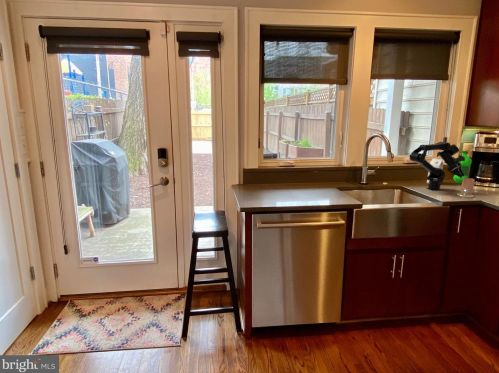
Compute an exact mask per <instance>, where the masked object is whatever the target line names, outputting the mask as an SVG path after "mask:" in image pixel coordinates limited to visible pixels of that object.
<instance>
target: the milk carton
mask: <svg viewBox="0 0 499 373" xmlns="http://www.w3.org/2000/svg"><path fill="white" fill-rule="evenodd" d="M429 163H430V164H431V165H432V166H433V167H436V168H441V169H442V170H443V169H444V161H443V159H442V158H441V159H440V158H432V159H431V161H430V162H429ZM427 172H428V171H427ZM429 175H430V173H429V172H428V173H427V177H428V176H429ZM435 179H436V178H435ZM426 183H427V184H429V180H426Z"/></svg>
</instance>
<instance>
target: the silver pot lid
mask: <svg viewBox="0 0 499 373" xmlns="http://www.w3.org/2000/svg"><path fill="white" fill-rule="evenodd" d="M468 191H469V189H467V188H464V192H463V193H460V192H457V193H456V196H458V197H462V198H467V199H468V198H470V199H473V198H474V197H475V195H474V194H473V193H472V194H468Z"/></svg>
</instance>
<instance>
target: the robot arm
mask: <svg viewBox="0 0 499 373" xmlns="http://www.w3.org/2000/svg"><path fill="white" fill-rule="evenodd" d="M437 150H438V152H437V154H436V157H440V158H441V159H442V161H443V164H446V165H447V169H446V170H447V171H448V172H449V173H451V174H453V175H457V176H458V177H460V178H462V176H465V175H464V173H463V171H462V169H461V168H462V164H461V163H460V162H461V161H465V157H464V156H462V154H461V155H458V157H454V155H456V154H458V153H459V152H460V149H459V147H458V146H457V144H454V143H453V144H451V143H450V142H446V141H439V142H436V143H429V144H428V143H427V144H420V145H419V146H418V147H417V148H416V149H413V150H412V151H411V153H410V154H409V161H411V162H413V163H415V164H418V165H419V166H421V167H422V168H424V169H425V170H426V171H427V172H429V173H430V175H429V176H428V175H427V178H426V179H427V180H429V183H428V186H427V187H426V189H428V190H430V191H441V183H443V182H444V179H445V178H446V177H445V176H446V173H445V171H444V170H443V169H441V168H436V167H433V166H432V165H431V164H430V162H429V161H428V160H426V157H427V153H428V151H437ZM421 152H422V153H421ZM460 165H461V166H460ZM435 178H436V179H435ZM427 180H426V181H427Z"/></svg>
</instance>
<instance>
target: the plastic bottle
mask: <svg viewBox="0 0 499 373" xmlns="http://www.w3.org/2000/svg"><path fill="white" fill-rule="evenodd" d="M469 153H470V152H469V150H461V155H462V156H464V157H465V161H461V162H460V163H461V164H462V168H461V169H462V171H463V173H464V175H465V176H462V178H460V177H458V176H457V175H455V174H453V179H452V180H453V181H454V182H455V183H456V184H461V185H462V181H463V178H469V177H468V172H469V167H470V166H471V165H472V161H473V160H472V158H470V157H469V156H468V154H469ZM460 166H461V165H460Z"/></svg>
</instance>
